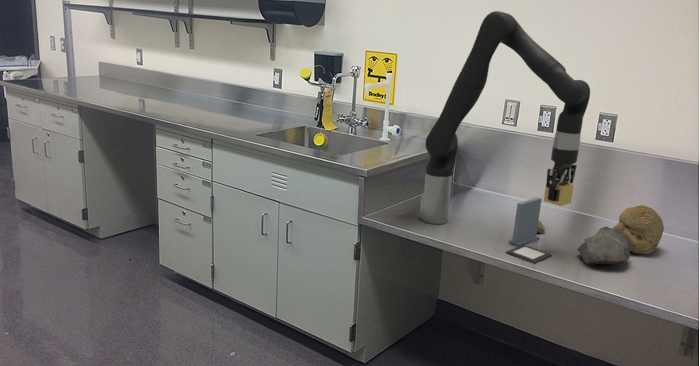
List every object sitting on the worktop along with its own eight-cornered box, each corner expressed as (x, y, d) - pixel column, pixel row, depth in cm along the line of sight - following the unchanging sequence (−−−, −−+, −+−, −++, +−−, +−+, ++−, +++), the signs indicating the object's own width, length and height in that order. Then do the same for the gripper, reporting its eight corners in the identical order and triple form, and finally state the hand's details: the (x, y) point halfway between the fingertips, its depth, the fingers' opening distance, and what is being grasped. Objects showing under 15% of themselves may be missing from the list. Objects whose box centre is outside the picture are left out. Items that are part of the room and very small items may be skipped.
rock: (528, 235, 200) (530, 223, 198) (514, 224, 210) (515, 212, 209) (548, 234, 201) (550, 222, 200) (533, 223, 211) (535, 212, 210)
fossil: (594, 242, 195) (602, 200, 191) (633, 237, 202) (641, 196, 198) (630, 259, 182) (639, 214, 178) (670, 254, 188) (680, 210, 184)
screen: (508, 243, 190) (514, 202, 187) (528, 235, 198) (534, 196, 195) (519, 246, 188) (525, 205, 184) (539, 239, 195) (544, 199, 192)
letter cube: (543, 201, 182) (546, 182, 180) (553, 197, 186) (556, 179, 184) (561, 206, 178) (564, 186, 176) (570, 202, 182) (574, 183, 180)
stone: (588, 214, 187) (639, 224, 179) (584, 243, 191) (634, 254, 183) (572, 236, 173) (626, 249, 165) (568, 267, 177) (621, 280, 169)
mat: (505, 253, 182) (506, 251, 182) (523, 246, 188) (523, 244, 188) (534, 263, 175) (534, 261, 174) (551, 256, 181) (551, 254, 181)
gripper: (565, 141, 184) (557, 192, 189) (542, 146, 175) (534, 199, 179) (588, 146, 179) (579, 198, 184) (565, 151, 170) (557, 206, 174)
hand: (557, 198), depth 182 cm, fingers closed on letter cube, 6 cm apart
